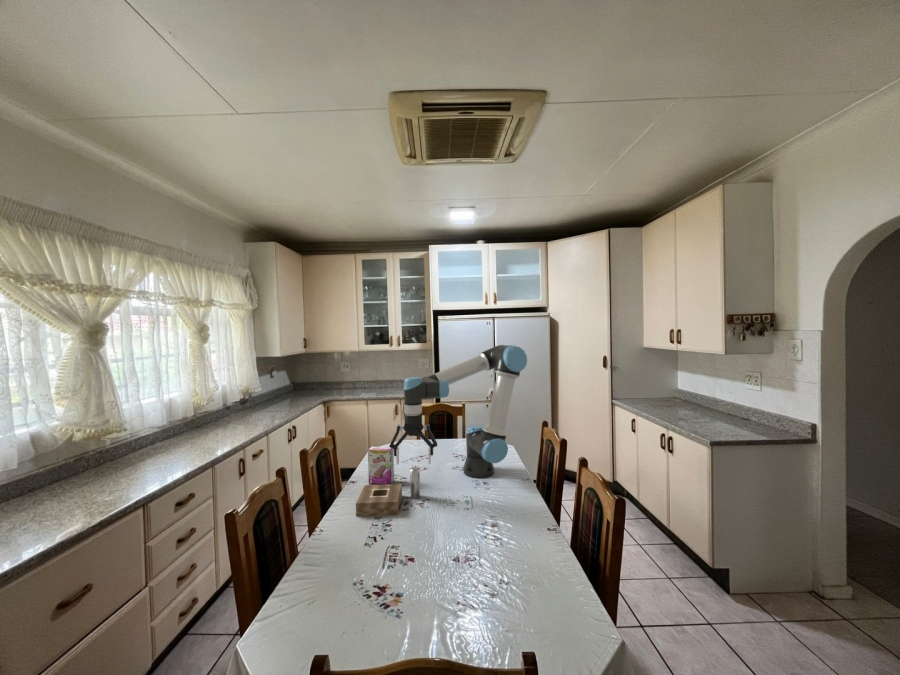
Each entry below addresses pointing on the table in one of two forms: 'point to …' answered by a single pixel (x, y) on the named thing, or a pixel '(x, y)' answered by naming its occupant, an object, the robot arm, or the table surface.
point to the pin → (415, 483)
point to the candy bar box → (381, 465)
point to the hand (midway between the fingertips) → (413, 463)
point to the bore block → (379, 500)
